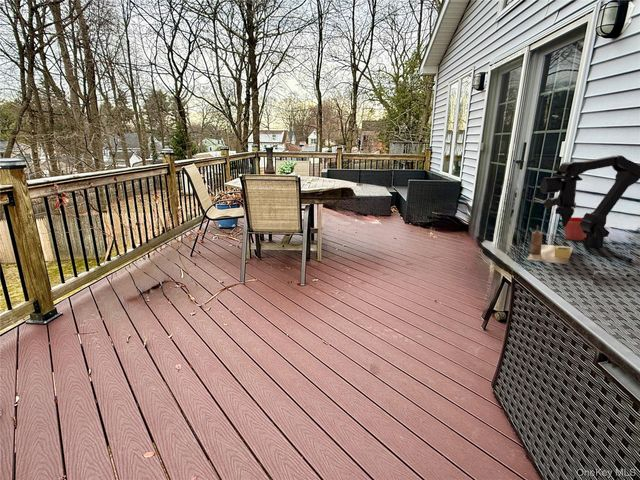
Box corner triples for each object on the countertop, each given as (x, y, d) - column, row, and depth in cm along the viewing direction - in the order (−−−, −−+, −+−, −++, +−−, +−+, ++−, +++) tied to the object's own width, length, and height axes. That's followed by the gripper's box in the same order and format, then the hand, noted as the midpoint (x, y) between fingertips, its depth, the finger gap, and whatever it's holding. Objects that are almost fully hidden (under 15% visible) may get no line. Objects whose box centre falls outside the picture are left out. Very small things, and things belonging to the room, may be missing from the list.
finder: (569, 255, 143) (570, 247, 142) (568, 258, 140) (569, 249, 140) (555, 254, 147) (556, 246, 146) (554, 256, 144) (554, 248, 143)
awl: (541, 252, 149) (543, 225, 146) (539, 255, 147) (541, 227, 144) (531, 251, 152) (533, 224, 149) (529, 254, 149) (531, 226, 146)
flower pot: (563, 240, 167) (565, 221, 165) (560, 235, 177) (562, 217, 174) (590, 241, 162) (592, 221, 160) (585, 236, 172) (587, 217, 169)
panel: (584, 250, 151) (584, 248, 151) (579, 267, 132) (579, 265, 132) (527, 245, 165) (527, 243, 165) (515, 260, 146) (515, 258, 146)
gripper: (547, 188, 159) (545, 221, 163) (542, 194, 146) (540, 229, 149) (577, 188, 153) (574, 222, 156) (575, 194, 139) (571, 231, 142)
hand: (564, 226), depth 151 cm, fingers closed
